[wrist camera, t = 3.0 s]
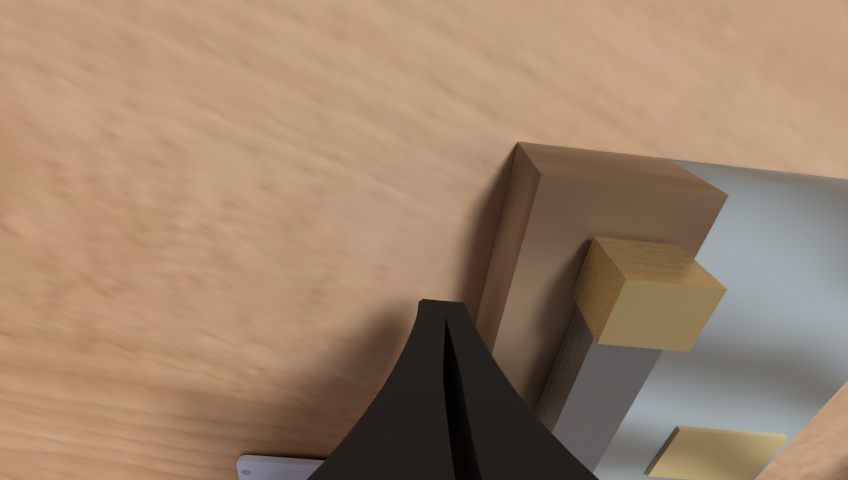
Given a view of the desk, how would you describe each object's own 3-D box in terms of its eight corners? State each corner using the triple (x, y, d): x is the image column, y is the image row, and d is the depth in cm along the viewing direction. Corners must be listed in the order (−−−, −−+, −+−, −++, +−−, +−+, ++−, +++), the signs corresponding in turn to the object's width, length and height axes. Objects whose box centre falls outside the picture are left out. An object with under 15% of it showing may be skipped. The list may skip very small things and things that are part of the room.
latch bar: (557, 499, 17) (571, 553, 15) (489, 494, 17) (496, 548, 15) (689, 246, 11) (740, 290, 9) (582, 235, 11) (613, 277, 9)
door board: (721, 464, 21) (764, 529, 18) (447, 443, 20) (450, 507, 18) (951, 191, 13) (1084, 235, 11) (517, 141, 13) (542, 175, 10)
